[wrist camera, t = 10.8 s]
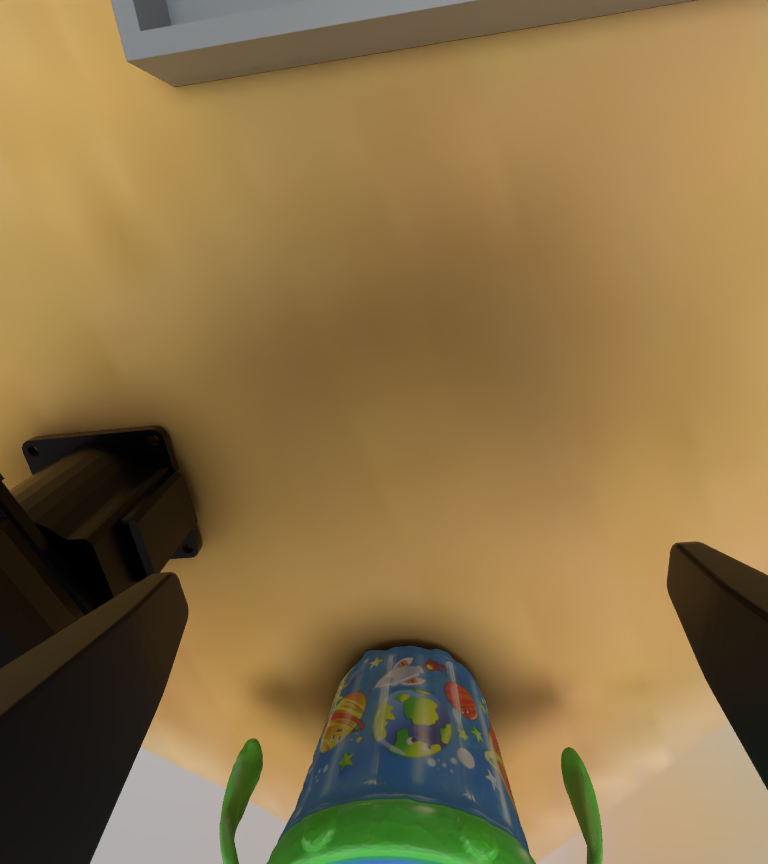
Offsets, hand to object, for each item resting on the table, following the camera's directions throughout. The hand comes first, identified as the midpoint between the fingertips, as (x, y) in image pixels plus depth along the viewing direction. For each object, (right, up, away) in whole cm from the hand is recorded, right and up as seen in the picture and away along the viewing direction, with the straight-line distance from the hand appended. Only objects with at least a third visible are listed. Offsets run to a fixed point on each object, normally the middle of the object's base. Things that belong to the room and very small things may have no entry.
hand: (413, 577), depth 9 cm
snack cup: (+1, -11, +18) cm, 21 cm away
